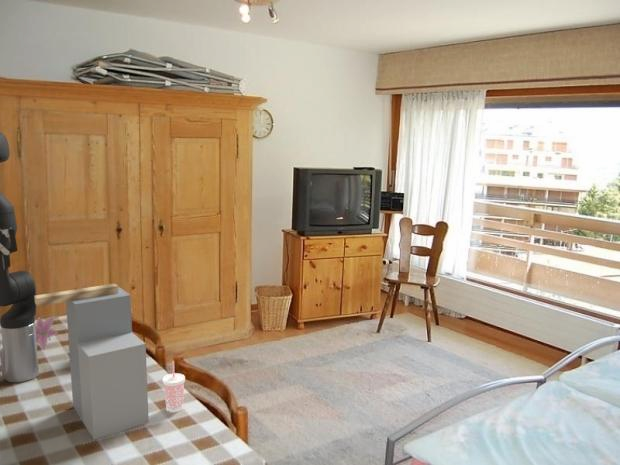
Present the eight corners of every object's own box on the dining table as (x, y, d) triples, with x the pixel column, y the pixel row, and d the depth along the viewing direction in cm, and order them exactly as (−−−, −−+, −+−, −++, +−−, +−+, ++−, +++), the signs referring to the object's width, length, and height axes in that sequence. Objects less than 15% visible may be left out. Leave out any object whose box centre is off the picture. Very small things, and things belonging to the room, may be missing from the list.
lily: (23, 344, 193) (14, 327, 187) (53, 324, 200) (45, 307, 194) (41, 361, 187) (32, 344, 181) (71, 340, 194) (63, 323, 188)
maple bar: (37, 306, 132) (36, 298, 131) (34, 303, 134) (34, 295, 134) (118, 293, 144) (118, 286, 143) (115, 290, 146) (114, 283, 146)
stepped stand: (93, 439, 132) (86, 315, 126) (73, 406, 148) (65, 294, 142) (148, 422, 140) (143, 304, 135) (123, 392, 156) (118, 286, 150)
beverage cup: (166, 415, 144) (164, 367, 141) (161, 405, 149) (159, 358, 147) (188, 410, 147) (187, 363, 144) (182, 400, 152) (181, 354, 149)
